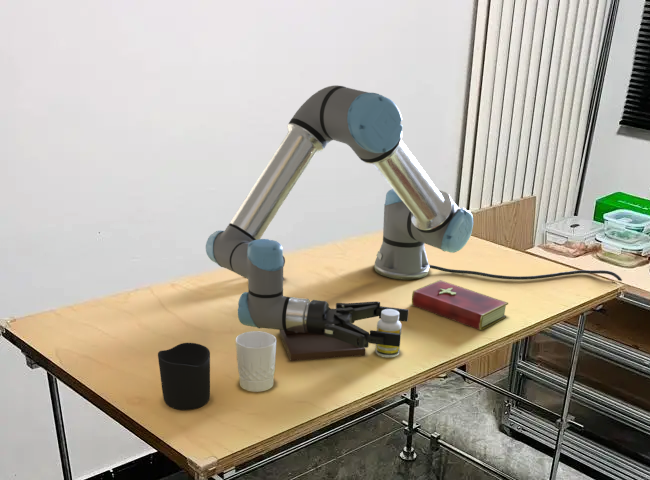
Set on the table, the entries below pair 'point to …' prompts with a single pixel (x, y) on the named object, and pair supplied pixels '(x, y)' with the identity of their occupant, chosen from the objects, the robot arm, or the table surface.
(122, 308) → the table surface
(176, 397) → the pen holder
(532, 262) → the table surface
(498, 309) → the hardcover book
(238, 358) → the white cup
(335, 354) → the tray
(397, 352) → the supplement bottle
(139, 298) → the table surface
